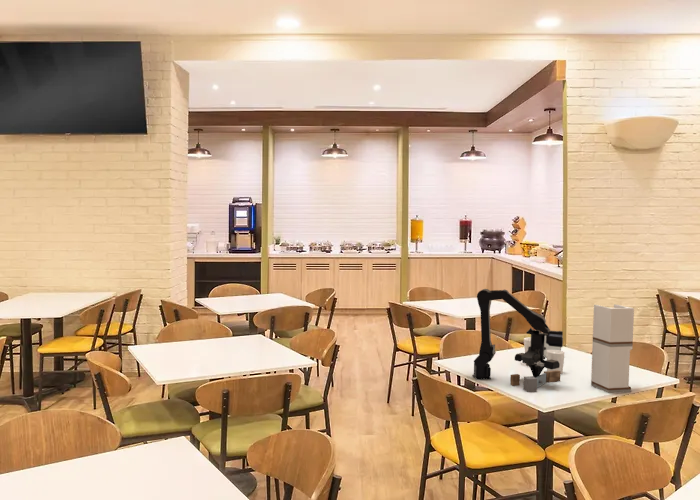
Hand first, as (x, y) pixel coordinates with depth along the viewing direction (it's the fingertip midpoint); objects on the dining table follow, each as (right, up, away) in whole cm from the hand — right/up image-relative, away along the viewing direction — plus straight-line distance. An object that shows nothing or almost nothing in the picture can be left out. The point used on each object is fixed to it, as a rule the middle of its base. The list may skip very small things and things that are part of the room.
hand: (535, 380), depth 248 cm
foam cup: (+9, -1, +33) cm, 35 cm away
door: (+1, -2, -3) cm, 4 cm away
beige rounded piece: (+15, -1, +20) cm, 25 cm away
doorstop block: (-6, -2, -10) cm, 12 cm away
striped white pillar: (+30, -3, -5) cm, 31 cm away
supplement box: (+26, 0, +54) cm, 60 cm away
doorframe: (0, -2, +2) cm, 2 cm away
